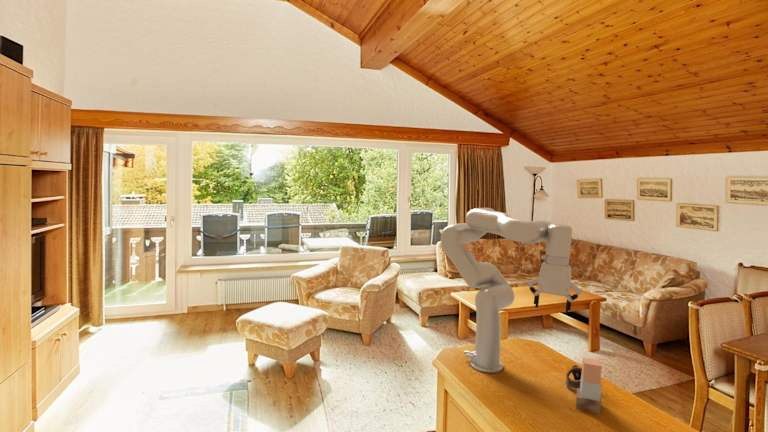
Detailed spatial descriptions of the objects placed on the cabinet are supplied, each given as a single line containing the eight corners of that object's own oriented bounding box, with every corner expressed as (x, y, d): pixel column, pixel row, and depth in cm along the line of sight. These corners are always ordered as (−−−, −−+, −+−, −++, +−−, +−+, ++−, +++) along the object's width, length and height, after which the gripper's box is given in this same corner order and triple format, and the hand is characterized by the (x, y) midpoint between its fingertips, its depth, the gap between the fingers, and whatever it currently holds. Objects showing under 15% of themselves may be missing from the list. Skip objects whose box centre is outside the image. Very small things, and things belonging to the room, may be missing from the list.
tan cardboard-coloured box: (576, 409, 135) (576, 397, 135) (576, 399, 142) (577, 387, 141) (600, 415, 132) (601, 403, 132) (599, 404, 139) (600, 393, 138)
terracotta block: (582, 381, 135) (584, 363, 134) (581, 374, 139) (582, 357, 139) (600, 384, 133) (601, 366, 132) (598, 377, 138) (599, 359, 137)
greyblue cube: (581, 397, 135) (582, 381, 134) (579, 389, 140) (581, 374, 140) (600, 401, 133) (601, 384, 132) (598, 393, 138) (599, 377, 138)
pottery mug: (602, 396, 145) (595, 379, 142) (575, 405, 146) (568, 388, 144) (587, 372, 156) (581, 355, 153) (563, 380, 158) (556, 364, 155)
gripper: (528, 258, 142) (523, 307, 144) (584, 266, 134) (578, 317, 136) (531, 255, 148) (526, 301, 150) (585, 262, 141) (579, 311, 143)
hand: (551, 309), depth 143 cm, fingers open, 9 cm apart
